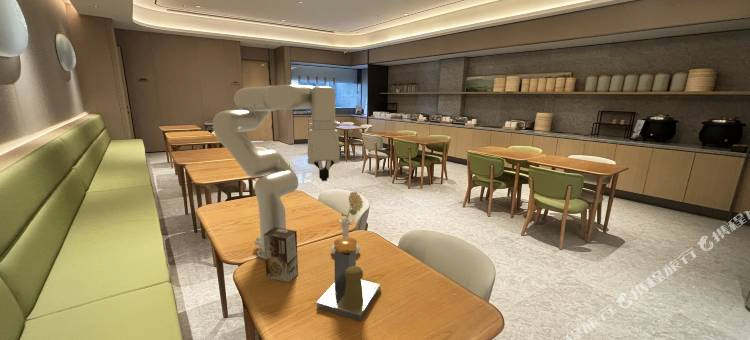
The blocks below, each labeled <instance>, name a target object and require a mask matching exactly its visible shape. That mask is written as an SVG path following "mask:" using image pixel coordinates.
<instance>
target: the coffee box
mask: <svg viewBox="0 0 750 340" xmlns="http://www.w3.org/2000/svg"><path fill="white" fill-rule="evenodd" d="M297 233H298V232H297V230H293V229H288V228H286V229H282V228H276V227H274V228H273V229H271V230H270V231H268V232H267V233H265V234H264V248H265V259H264V261H265V271H266V272H265V273H266V275H265V276H266V278H269V279H273V280H278V281H282V282H286V283H290V281H292V280H293V279H294V278H295V277H296V276H297V275H299V263H298V237H297V236H298V235H297Z"/></svg>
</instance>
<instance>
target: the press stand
mask: <svg viewBox="0 0 750 340" xmlns="http://www.w3.org/2000/svg"><path fill="white" fill-rule="evenodd" d="M356 262H357V254H356V250H355V251H354V252H351V253H348V254H346V253H339V252H337V251H335V254H334V282H333V283H332V285H331V286H330V287H329V288H328V289H327V290H326V292H324V293H323V295H322V296H321V297H320V298H319V299H318V300H317V301H316V308H317V309H319V310H323V311H326V312H329V313H333V314H334V315H335V314H336V315H339V316H342V317H346V318H348V319H351V320H355V321H358V322H361V321H362V319H363V317H364V316H365V314H366V313H367V312H368V310H369V309H370V306H372V303H373V302H374V300H375V299H376V297H377V295H378V294H379V293H380V291H381V286H382V285H381V284H380V283H376V282H372V281H370V280H365V279H363V278H362V279H361V284H362V292H363V300H364V303H363V305H362V306H361V307H359V308H356V309H350V308H347V307H345V306H344V304H343V301H344V294H345V288H346V281H347V280H346V278H345V271H346V269H347V268H348V267H350V266H357V263H356Z"/></svg>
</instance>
